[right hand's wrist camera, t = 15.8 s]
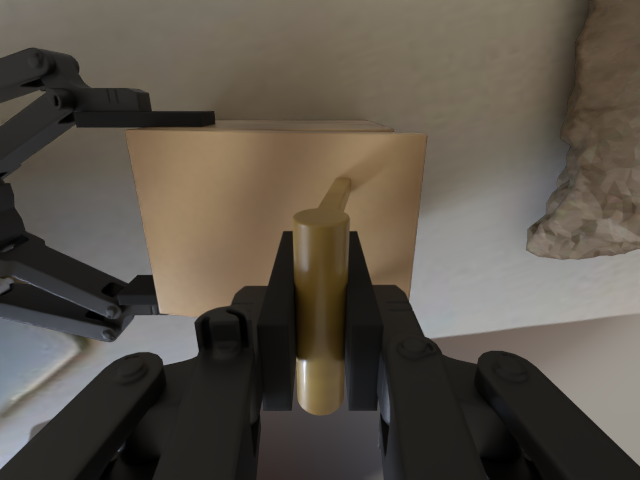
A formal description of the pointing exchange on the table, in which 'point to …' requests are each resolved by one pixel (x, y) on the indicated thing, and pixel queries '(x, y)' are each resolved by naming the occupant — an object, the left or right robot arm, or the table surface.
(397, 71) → the table surface
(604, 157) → the stone
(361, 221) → the lid
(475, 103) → the table surface
